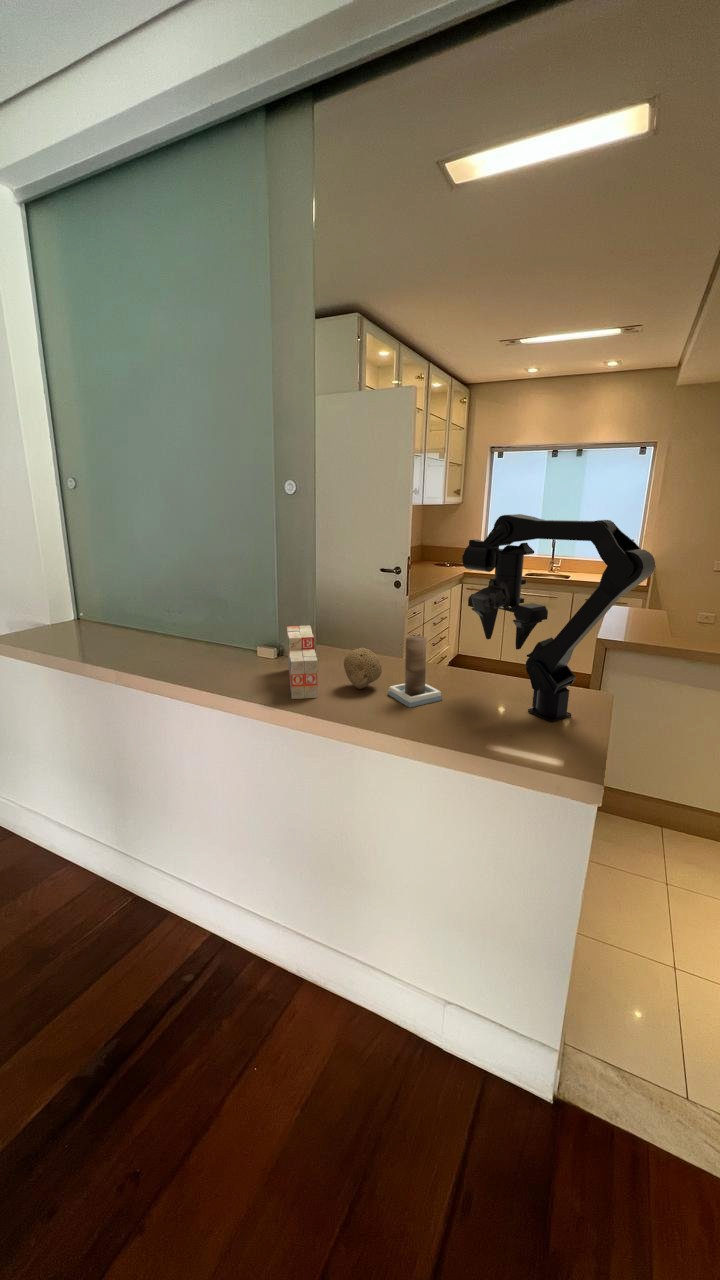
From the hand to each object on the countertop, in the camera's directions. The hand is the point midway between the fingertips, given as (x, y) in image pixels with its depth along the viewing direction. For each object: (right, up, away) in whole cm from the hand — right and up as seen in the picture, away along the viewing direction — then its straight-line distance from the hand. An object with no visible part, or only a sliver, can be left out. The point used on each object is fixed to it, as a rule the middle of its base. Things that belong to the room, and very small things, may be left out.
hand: (502, 644), depth 115 cm
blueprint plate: (-19, -12, +4) cm, 23 cm away
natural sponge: (-31, -11, +10) cm, 35 cm away
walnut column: (-19, -11, +4) cm, 23 cm away
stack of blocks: (-46, -10, +13) cm, 49 cm away
